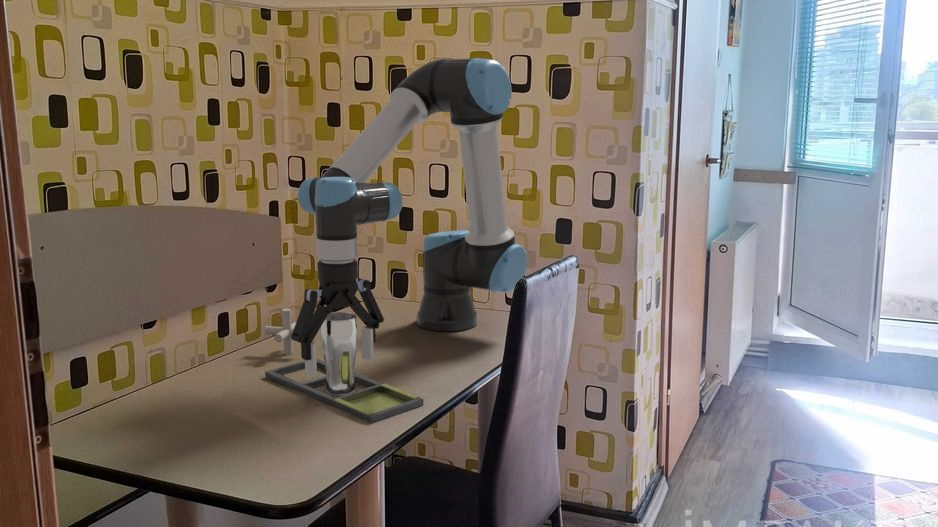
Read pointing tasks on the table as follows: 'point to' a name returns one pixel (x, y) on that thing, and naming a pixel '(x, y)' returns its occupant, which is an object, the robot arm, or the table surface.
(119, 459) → the table surface
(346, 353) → the beer glass
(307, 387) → the grey flat frame
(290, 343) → the pipe connector
